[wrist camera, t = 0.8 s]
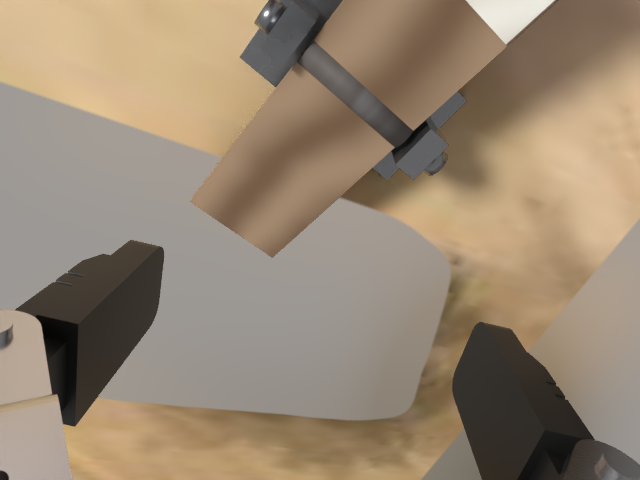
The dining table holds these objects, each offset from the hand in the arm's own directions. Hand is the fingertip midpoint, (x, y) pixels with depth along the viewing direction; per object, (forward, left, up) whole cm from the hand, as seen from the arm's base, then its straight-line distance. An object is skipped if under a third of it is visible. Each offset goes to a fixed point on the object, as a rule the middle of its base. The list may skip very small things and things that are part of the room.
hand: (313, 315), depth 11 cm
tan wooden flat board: (+1, +2, -19) cm, 19 cm away
